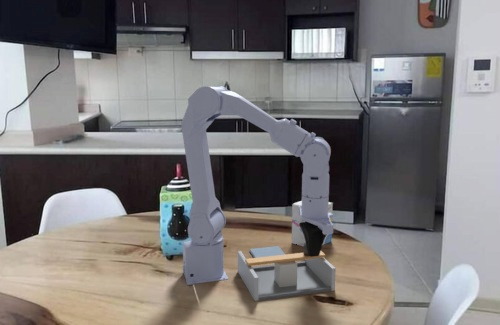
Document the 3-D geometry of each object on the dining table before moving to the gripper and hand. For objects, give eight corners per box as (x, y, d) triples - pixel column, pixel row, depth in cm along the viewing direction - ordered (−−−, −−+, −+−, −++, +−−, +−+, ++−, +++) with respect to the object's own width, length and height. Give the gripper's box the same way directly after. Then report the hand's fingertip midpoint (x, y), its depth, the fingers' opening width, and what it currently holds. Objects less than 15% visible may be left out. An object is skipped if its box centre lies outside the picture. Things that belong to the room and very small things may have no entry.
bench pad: (258, 264, 111) (258, 260, 110) (249, 253, 118) (249, 248, 118) (288, 261, 113) (288, 257, 112) (278, 250, 120) (278, 245, 120)
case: (254, 303, 92) (254, 277, 91) (237, 273, 106) (237, 251, 105) (334, 292, 96) (335, 268, 95) (308, 265, 110) (308, 243, 109)
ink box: (307, 235, 132) (308, 191, 129) (332, 241, 127) (333, 196, 124) (290, 243, 125) (291, 197, 123) (316, 250, 120) (317, 202, 118)
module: (279, 287, 98) (280, 265, 97) (274, 279, 101) (274, 258, 100) (297, 285, 99) (297, 263, 98) (290, 277, 102) (291, 257, 101)
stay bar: (248, 265, 95) (248, 252, 95) (245, 261, 98) (245, 248, 97) (325, 257, 100) (325, 244, 100) (320, 253, 102) (321, 240, 102)
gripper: (348, 202, 89) (345, 266, 92) (318, 186, 103) (317, 242, 105) (315, 205, 87) (313, 269, 90) (290, 188, 101) (289, 244, 104)
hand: (313, 255), depth 97 cm, fingers closed
